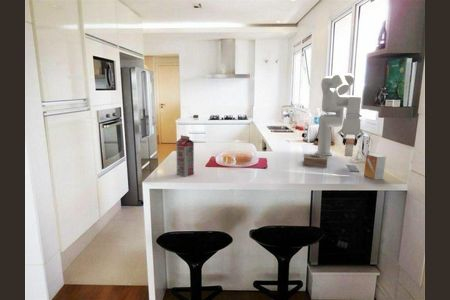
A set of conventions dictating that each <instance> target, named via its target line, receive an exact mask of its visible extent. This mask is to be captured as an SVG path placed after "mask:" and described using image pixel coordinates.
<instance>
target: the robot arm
mask: <svg viewBox="0 0 450 300" xmlns="http://www.w3.org/2000/svg"><path fill="white" fill-rule="evenodd" d="M354 82H355V78H354V75H353V74H352V73H347V72H346V73H345V72H343V73H342V72H337V73H335V74H333V75H331V76H325V77H323V78H322V79H321V85H320V86H321V91H322V102H321V110H322V112H324V114H320V116H319V118H318V125H319V126H318V127H319V128H318V129H319V130H318V138H317V139H318V142H317V143H318V144H317V151H315V153H314V155H325V156H326V157H327V156H332V155H333V153H332V152H331V145H332V135H333V132H332V130H331V129H330V127H332V128H333V127H337V128H338V127H341V126H342V128H341V129H340V130H338V132H337V134H338V135H339V136H340V137H341V139H342V144H343V146H346V143H345V142H346V139H345V138H347V135H349V136H350V135H351V136H352V135H354V139H355V144H354V146H353V147H355V146H357V145H358V141H359V139H360V138H361V137H362V136H364V135H365V133H364V132H363V131H362V130H361V118H362V117H363V116H362V115H363V114H360V113H361V112H360V110H361V102H362V98H361V96H357V95H345V94H347V93H348V91H349V90H350V87H351V86H352V85H353V84H354ZM333 89H334V90H333ZM345 108H346V110H345ZM344 110H345V111H346V112H345V118H344ZM331 113H333V114H331Z"/></svg>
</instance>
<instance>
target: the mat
mask: <svg viewBox="0 0 450 300" xmlns="http://www.w3.org/2000/svg"><path fill="white" fill-rule="evenodd" d="M346 168H347V169H348V171H349V172H350V173H351V172H352V173H360V170H359V168H357V166H356V165H355V164H354V165H353V164H346Z"/></svg>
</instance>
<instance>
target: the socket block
mask: <svg viewBox="0 0 450 300" xmlns="http://www.w3.org/2000/svg"><path fill="white" fill-rule="evenodd" d="M327 164H328V159H327V156H325V155H318V154H310V153H308V154H306V153H304V154H303V167H314V168H325V169H326V168H327Z"/></svg>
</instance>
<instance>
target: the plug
mask: <svg viewBox="0 0 450 300" xmlns="http://www.w3.org/2000/svg"><path fill="white" fill-rule="evenodd" d="M345 139H346V142H345V145H344V146H345V148H344V156H345V157H353V153H354V147H355V146H354V144H355V138H350V137H345Z"/></svg>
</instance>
